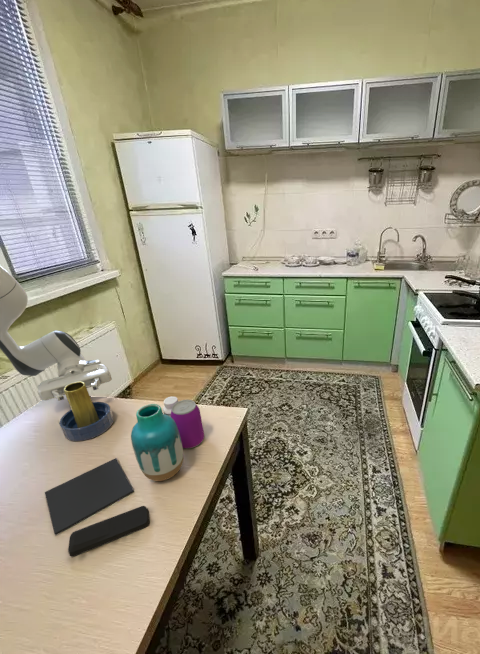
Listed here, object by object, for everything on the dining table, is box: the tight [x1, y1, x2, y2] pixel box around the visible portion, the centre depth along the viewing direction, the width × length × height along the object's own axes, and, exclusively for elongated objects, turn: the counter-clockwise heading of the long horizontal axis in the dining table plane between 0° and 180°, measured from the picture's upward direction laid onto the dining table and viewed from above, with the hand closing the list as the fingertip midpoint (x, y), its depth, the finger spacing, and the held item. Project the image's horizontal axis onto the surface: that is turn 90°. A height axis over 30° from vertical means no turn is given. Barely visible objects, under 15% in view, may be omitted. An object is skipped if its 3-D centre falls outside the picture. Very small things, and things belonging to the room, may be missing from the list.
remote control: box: [67, 505, 151, 558], centre depth 67 cm, size 5×2×15 cm
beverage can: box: [170, 399, 205, 449], centre depth 89 cm, size 8×8×12 cm
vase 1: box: [64, 382, 100, 428], centre depth 95 cm, size 6×6×14 cm
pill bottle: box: [162, 396, 179, 417], centre depth 96 cm, size 5×5×9 cm
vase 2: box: [130, 403, 184, 482], centre depth 77 cm, size 11×11×19 cm
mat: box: [44, 457, 135, 536], centre depth 77 cm, size 16×14×1 cm
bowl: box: [58, 401, 115, 442], centre depth 97 cm, size 13×13×4 cm
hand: (78, 393), depth 100 cm, fingers open, 8 cm apart
